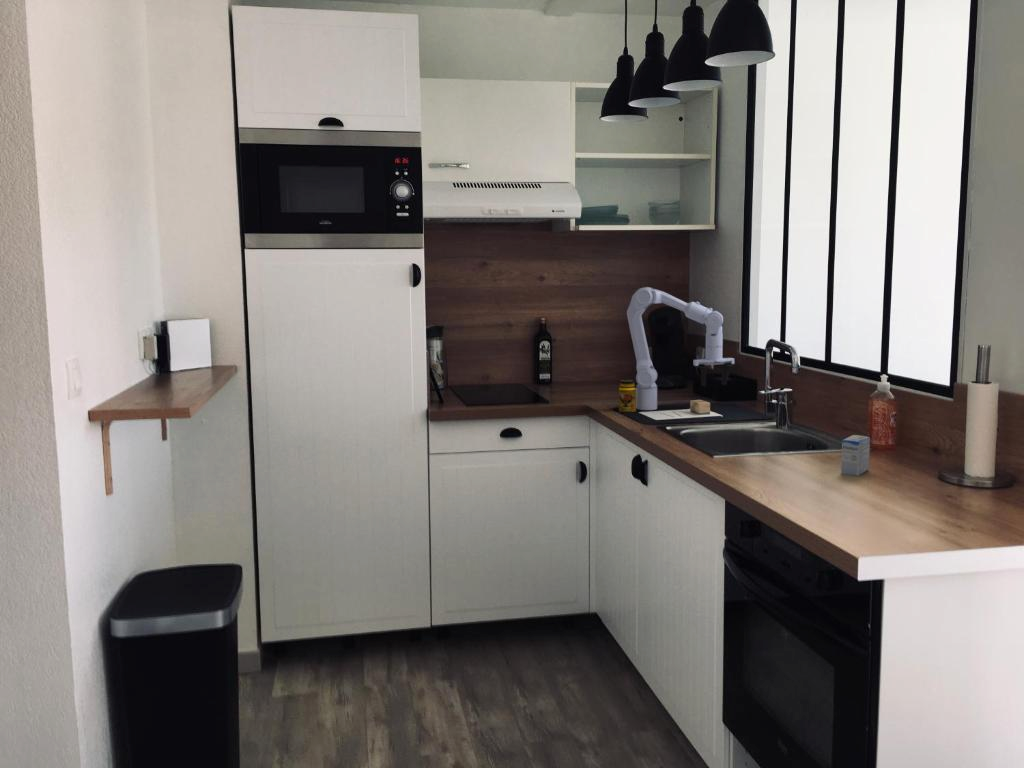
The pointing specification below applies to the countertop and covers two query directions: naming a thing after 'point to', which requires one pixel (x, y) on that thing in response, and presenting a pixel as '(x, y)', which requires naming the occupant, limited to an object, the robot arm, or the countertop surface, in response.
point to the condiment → (627, 396)
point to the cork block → (699, 407)
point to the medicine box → (855, 455)
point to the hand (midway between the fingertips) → (713, 385)
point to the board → (675, 414)
